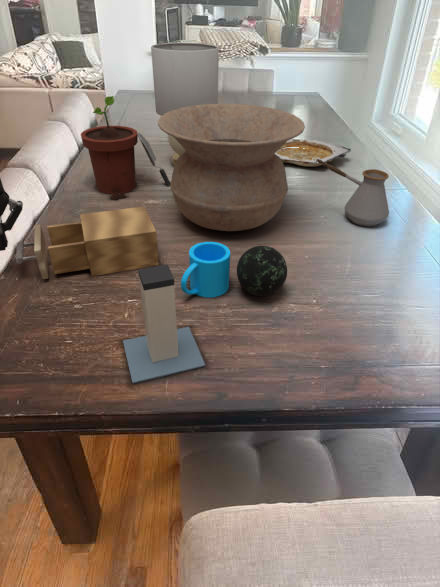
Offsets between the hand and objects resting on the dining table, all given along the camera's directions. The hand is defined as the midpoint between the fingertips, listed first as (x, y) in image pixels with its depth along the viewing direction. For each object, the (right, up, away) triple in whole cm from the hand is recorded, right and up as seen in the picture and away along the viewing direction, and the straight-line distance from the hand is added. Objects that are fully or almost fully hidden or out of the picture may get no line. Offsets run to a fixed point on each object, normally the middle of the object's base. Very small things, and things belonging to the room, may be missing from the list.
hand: (1, 248), depth 85 cm
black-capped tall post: (+35, -19, -15) cm, 43 cm away
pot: (+47, +11, +27) cm, 55 cm away
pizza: (+75, +39, +65) cm, 107 cm away
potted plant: (+16, +23, +41) cm, 50 cm away
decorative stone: (+53, -9, 0) cm, 54 cm away
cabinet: (+22, -1, +10) cm, 24 cm away
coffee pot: (+79, +11, +28) cm, 85 cm away
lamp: (+34, +36, +59) cm, 77 cm away
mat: (+35, -20, -15) cm, 43 cm away
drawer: (+11, -2, +6) cm, 12 cm away
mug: (+41, -9, 0) cm, 42 cm away
